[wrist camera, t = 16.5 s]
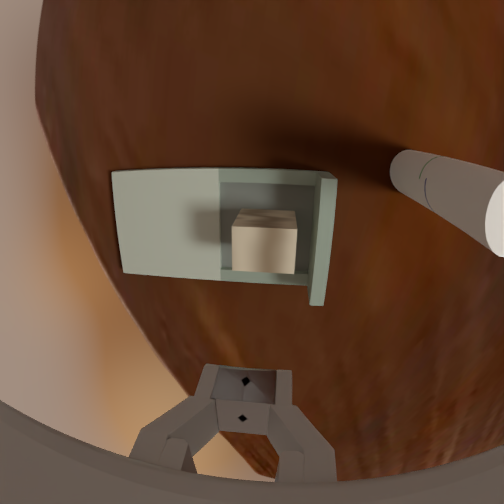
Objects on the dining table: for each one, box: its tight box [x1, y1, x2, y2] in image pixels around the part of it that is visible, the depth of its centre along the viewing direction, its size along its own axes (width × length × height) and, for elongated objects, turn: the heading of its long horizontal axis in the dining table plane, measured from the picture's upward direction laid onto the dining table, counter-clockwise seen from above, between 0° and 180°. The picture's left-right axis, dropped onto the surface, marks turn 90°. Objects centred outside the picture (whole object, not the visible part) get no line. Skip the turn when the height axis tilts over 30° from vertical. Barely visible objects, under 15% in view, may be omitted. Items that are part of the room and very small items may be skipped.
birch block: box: [232, 209, 297, 274], centre depth 42 cm, size 8×6×9 cm
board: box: [112, 167, 338, 306], centre depth 44 cm, size 34×18×8 cm, turn 90°
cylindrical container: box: [390, 150, 504, 257], centre depth 29 cm, size 7×7×25 cm
